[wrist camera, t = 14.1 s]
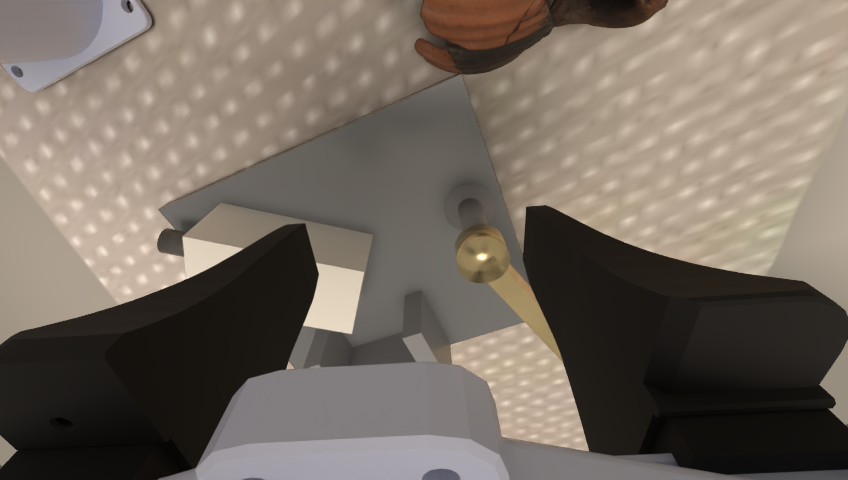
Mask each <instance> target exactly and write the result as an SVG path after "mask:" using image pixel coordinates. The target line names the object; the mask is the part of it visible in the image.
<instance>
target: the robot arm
mask: <svg viewBox="0 0 848 480" xmlns="http://www.w3.org/2000/svg"><path fill="white" fill-rule="evenodd" d="M129 1H130V2H131V3H132V5H133V11H132V12H131V11H130V10H129V9H128V7H127V2H128V0H0V65H2V67H3V68H4V69H5V70H6V71H7V72H8V73H9V74H10V75H11V76H12V78H13V79H14V80H15V81H16V82H17V83H18V84H19V85H20V86H21V87H22V88H23V89H24V90H26V91H28V92H38V91H42V90H43V89H45V88H47V87H49V86H50V85H52V84H54V83H56V82H57V81H59V80H61V79H63V78H64V77H66V76H68V75H70V74H71V73H73V72H75V71H77V70H78V69H80V68H82V67H84V66H85V65H87V64H89V63H91V62H92V61H94V60H96V59H98V58H99V57H101V56H103V55H105V54H106V53H108V52H110V51H112V50H113V49H115V48H117V47H119V46H120V45H122V44H124V43H126V42H127V41H129V40H131V39H133V38H134V37H136V36H138V35H140V34H141V33H143V32H145V31H147V30H148V29H149V28H150V27H151V24H152V21H151V17H150V15H149V13H148V12H147V10H146V9H145V7H144V6H143V4H142V3H141V1H140V0H129ZM19 68H20V69H21V70H22V72H23V74H21V72H20V71H19ZM523 263H524V266H525V270H526V274H527V277H528V280H529V284H530V286H531V289H532V291H533V293H534V295H535V298H536V300H537V302H538V304H539V306H540V308H541V311H542V313H543V315H544V317H545V319H546V321H547V324H548V326H549V328H550V330H551V332H552V334H553V337H554V339H555V341H556V344H557V346H558V349H559V351H560V354H561V357H562V360H563V364H564V367H565V370H566V373H567V376H568V379H569V382H570V385H571V389H572V392H573V395H574V399H575V402H576V405H577V409H578V412H579V416H580V419H581V423H582V426H583V430H584V434H585V437H586V441H587V444H588V448H589V452H588V451H582V450H576V449H570V448H565V447H559V446H553V445H547V444H541V443H535V442H529V441H523V440H517V439H511V438H505V437H502V436H501V430H500V425H499V420H498V415H497V409H496V404H495V401H494V398H493V396H492V393H491V391H490V389H489V386H488V384H487V382H486V381H485V380H483V379H481V378H480V377H478V376H477V375H475V374H473V373H472V372H470V371H468V370H467V369H465V368H464V367H462V366H459V365H452V364H444V363H436V362H428V361H426V362H409V363H392V364H375V365H357V366H340V367H323V368H306V369H288V370H286V367H287V364H288V362H289V359H290V356H291V353H292V351H293V348H294V346H295V344H296V341H297V339H298V336H299V334H300V331H301V329H302V326H303V324H304V322H305V319H306V317H307V314H308V312H309V309H310V307H311V304H312V302H313V299H314V295H315V291H316V287H317V282H318V277H319V272H318V268H317V265H316V261H315V257H314V254H313V250H312V246H311V243H310V239H309V235H308V232H307V228H306V224H305V223H299V224H287V225H284V226H282V227H280V228H278V229H276V230H274V231H272V232H271V233H269V234H267V235H266V236H264V237H262V238H261V239H259V240H257V241H256V242H254V243H252V244H251V245H249V246H248V247H246V248H244V249H243V250H241V251H239V252H237V253H236V254H234V255H232V256H230V257H229V258H227V259H225V260H223V261H221V262H220V263H218V264H216V265H214V266H213V267H211V268H209V269H207V270H205V271H203V272H201V273H199V274H197V275H194V276H192V277H190V278H188V279H186V280H184V281H181V282H179V283H177V284H175V285H172V286H170V287H167V288H164V289H162V290H159V291H157V292H154V293H152V294H149V295H146V296H144V297H141V298H139V299H136V300H133V301H130V302H127V303H124V304H121V305H118V306H115V307H112V308H109V309H105V310H102V311H98V312H95V313H92V314H88V315H85V316H81V317H78V318H74V319H70V320H66V321H62V322H58V323H54V324H50V325H46V326H42V327H38V328H34V329H29V330H25V331H21V332H19V333H17V334H15V335H13V336H12V337H10V338H9V339H7V340H6V341H5V342H3V343H2V344H1V345H0V435H1V436H2V437H3V438H4V439H5V440H6V441H7V442H8V443H9V444H11V445H12V446H13V447H14V448H15V449H16V450H18V451H17V452H16V453H15V454H14V455H13V456H12V457H11V458H10V459H9V460H8V461H7V462H6V463H5V464H4V465H3V466H1V465H0V480H848V424H847V425H845V424H843V422H841V421H840V420H839V419H838V418H837V417H836V416H835V415H834V414H833V413H832V412H831V411H830V410H829V409H828V408H833V407H834V406H835V404H836V402H835V399H834V398H833V397H832V396H831V395H830V394H829V393H828V392H827V391H826V390H824V389H823V388H822V387H821V386H820V385H819V384H820V382H821V381H822V380H823V378H824V377H825V375H826V374H827V372H828V371H829V369H830V368H831V366H832V365H833V363H834V362H835V360H836V359H837V358H838V356H839V355H840V353H841V351H842V350H843V348H844V346H845V344H846V342H847V340H848V316H847V314H846V311H845V310H844V309H843V308H841V307H840V306H839V305H838V304H837V303H835V302H834V301H832V300H831V299H830V298H828V297H827V296H825V295H823V294H822V293H821V292H819V291H818V290H816V289H815V288H813V287H812V286H810V285H809V284H807V283H806V282H803V281H797V280H789V279H782V278H774V277H767V276H759V275H751V274H744V273H738V272H733V271H727V270H722V269H717V268H711V267H707V266H702V265H698V264H693V263H689V262H685V261H681V260H678V259H674V258H670V257H666V256H663V255H659V254H656V253H653V252H650V251H647V250H644V249H641V248H638V247H635V246H632V245H630V244H627V243H624V242H622V241H619V240H617V239H615V238H612V237H610V236H608V235H606V234H603V233H601V232H599V231H597V230H595V229H593V228H591V227H589V226H587V225H585V224H583V223H581V222H579V221H577V220H575V219H573V218H571V217H569V216H567V215H565V214H564V213H562V212H560V211H558V210H556V209H554V208H551V207H549V206H546V205H544V206H531V207H526V221H525V236H524V252H523Z"/></svg>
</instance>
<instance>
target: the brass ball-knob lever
mask: <svg viewBox="0 0 848 480" xmlns="http://www.w3.org/2000/svg"><path fill="white" fill-rule="evenodd" d="M455 253H456V260H457V267H458V270H459V272H460V274H461V275H462V276H463V277H464V278H465V279H467V280H469V281H471V282H474V283H488V284H489V285H490V286H491V287H492V288H493V289H494V290H495V291H496V292H497V293H498V294H499V296H500V297H501V298H502V299H503V300H504V301H505V302H506V303H507V304H508V305H509V306H510V307H511V308H512V309H513V310H514V311H515V312H516V313H517V314H518V316H519V317H520V318H521V319H522V320H523V321H524V322H525V323H526V324H527V325H528V326H529V327H530V328H531V329H532V330H533V331H534V332H535V333H536V334H537V335H538V337H539V338H540V339H541V340H542V341H543V342H544V343H545V344H546V345H547V346H548V347H549V348H550V349H551V350H552V351H553V352H554V353H555V354H556V355H557V356H558V358H559V359H560V360H561V361H562V362H563V360H562V357H561V354H560V351H559V349H558V346H557V344H556V341H555V339H554V337H553V334H552V332H551V330H550V328H549V326H548V324H547V321H546V319H545V317H544V315H543V313H542V311H541V308H540V306H539V304H538V302H537V300H536V298H535V295H534V293H533V291H532V289H531V287H530V286H529V285H528V284H527V282H526V281H525V280H524V279H523V278H522V277H521V276H520V275H519V273H518V272H517V271H516V270H515V269H514V268H513V267H512V266H511V264H510V255H509V252H508V249H507V246H506V244H505V241H504V239H503V236H502V234H501V233H500V232H499V231H498V230H497V229H496V228H494V227H492V226H490V225H485V224H478V225H473V226H470V227H468V228H466V229H465V230H463V231H462V232H461V233H460V234H459V236H458V237H457V239H456V242H455Z"/></svg>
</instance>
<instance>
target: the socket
mask: <svg viewBox="0 0 848 480" xmlns="http://www.w3.org/2000/svg"><path fill="white" fill-rule="evenodd" d="M220 203H224V204H229V205H234V206H239V207H244V208H248V209H253V210H258V211H263V212H267V213H272V214H277V215H282V216H287V217H291V218H296V219H301V220H306V221H311V222H315V223H320V224H325V225H330V226H334V227H339V228H344V229H349V230H354V231H358V232H363V233H368V234H373V238H372V243H371V248H370V253H369V258H368V263H367V268H366V273H365V277H364V282H363V287H362V292H361V297H360V301H359V305H358V309H357V314H356V318H355V322H354V327H353V331H352V334H348V333H343V332H337V331H331V330H325V329H320V328H314V327H308V326H302V329H301V331H300V334H299V336H298V339H297V341H296V344H295V346H294V348H293V351H292V353H291V356H290V359H289V362H290V363H291V364H292V366H293V367H294V368H295V369H306V368H323V367H340V366H357V365H375V364H392V363H409V362H426V361H428V362H436V363H444V364H452V360H451V348H450V344H454V343H457V342H460V341H464V340H467V339H470V338H474V337H477V336H480V335H484V334H487V333H490V332H494V331H497V330H500V329H504V328H507V327H510V326H514V325H517V324H520V323H524V321H523V320H522V319H521V318H520V317H519V316H518V314H517V313H516V312H515V311H514V310H513V309H512V308H511V307H510V306H509V305H508V304H507V303H506V302H505V301H504V300H503V299H502V298H501V297H500V296H499V294H498V293H497V292H496V291H495V290H494V289H493V288H492V287H491V286H490V285H489V284H488V283H474V282H471V281H469V280H467V279H465V278H464V277H463V276H462V275H461V274H460V272H459V270H458V267H457V260H456V253H455V242H456V239H457V237H458V236H459V234H460V233H461V232H462V231H463V230H465V229H466V228H468V227H470V226H473V225H478V224H485V225H490V226H492V227H494V228H496V229H497V230H498V231H499V232H500V233H501V234H502V236H503V239H504V241H505V244H506V246H507V249H508V252H509V255H510V264H511V266H512V267H513V268H514V269H515V270H516V271H517V272H518V273H519V275H520V276H521V277H522V278H523V279H524V280H525V281H526V282H527V284H528V285H529V286H530V284H529V280H528V277H527V274H526V270H525V266H524V263H523V255H522V253H521V250H520V247H519V244H518V241H517V238H516V235H515V232H514V229H513V226H512V223H511V220H510V217H509V214H508V211H507V208H506V205H505V202H504V199H503V196H502V193H501V190H500V187H499V184H498V181H497V178H496V176H495V173H494V170H493V167H492V164H491V161H490V158H489V155H488V152H487V149H486V146H485V143H484V140H483V137H482V134H481V131H480V128H479V125H478V122H477V119H476V116H475V113H474V110H473V107H472V104H471V101H470V98H469V96H468V93H467V90H466V87H465V84H464V81H463V78H462V75H461V73H458V74H456V75H454V76H452V77H449V78H447V79H445V80H443V81H441V82H438V83H436V84H434V85H432V86H429V87H427V88H425V89H423V90H421V91H418V92H416V93H414V94H412V95H409V96H407V97H405V98H403V99H400V100H398V101H396V102H394V103H392V104H389V105H387V106H385V107H383V108H380V109H378V110H376V111H374V112H371V113H369V114H367V115H365V116H363V117H360V118H358V119H356V120H354V121H351V122H349V123H347V124H345V125H343V126H340V127H338V128H336V129H334V130H331V131H329V132H327V133H325V134H322V135H320V136H318V137H316V138H314V139H311V140H309V141H307V142H305V143H302V144H300V145H298V146H296V147H294V148H291V149H289V150H287V151H285V152H282V153H280V154H278V155H276V156H273V157H271V158H269V159H267V160H265V161H262V162H260V163H258V164H256V165H253V166H251V167H249V168H247V169H245V170H242V171H240V172H238V173H236V174H233V175H231V176H229V177H227V178H224V179H222V180H220V181H218V182H216V183H213V184H211V185H209V186H207V187H204V188H202V189H200V190H198V191H195V192H193V193H191V194H189V195H187V196H184V197H182V198H180V199H178V200H175V201H173V202H171V203H169V204H167V205H164V206H163V207H161V208H160V209H159V211H160V212H161V213H162V215H163V216H164V217H165V218H166V219H167V220H168V222H169V223H170V224H171V225H172V226H173V227H174V229H175V230H178V231H184V232H188V231H189V230H190V229H192V228H193V227H194V226H195V225H196V224H197V223H198V222H200V221H201V220H202V219H203V218H204V217H205V216H206V215H208V214H209V213H210V212H211V211H212V210H213V209H215V208H216V207H217V206H218V205H219V204H220ZM530 287H531V286H530Z"/></svg>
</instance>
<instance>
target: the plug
mask: <svg viewBox="0 0 848 480" xmlns="http://www.w3.org/2000/svg"><path fill="white" fill-rule="evenodd" d="M299 223H305V224H306V228H307V232H308V235H309V239H310V243H311V246H312V250H313V254H314V257H315V261H316V265H317V268H318V272H319V277H318V282H317V287H316V291H315V295H314V299H313V302H312V304H311V307H310V309H309V312H308V314H307V317H306V319H305V322H304V324H303V326H308V327H314V328H320V329H325V330H331V331H337V332H343V333H348V334H352V331H353V327H354V322H355V318H356V314H357V309H358V305H359V301H360V297H361V292H362V287H363V282H364V277H365V273H366V268H367V263H368V258H369V253H370V248H371V243H372V238H373V234H368V233H363V232H358V231H354V230H349V229H344V228H339V227H334V226H330V225H325V224H320V223H315V222H311V221H306V220H301V219H296V218H291V217H287V216H282V215H277V214H272V213H267V212H263V211H258V210H253V209H248V208H244V207H239V206H234V205H229V204H224V203H220V204H219V205H218V206H217V207H216V208H215V209H213V210H212V211H211V212H210V213H209V214H208V215H206V216H205V217H204V218H203V219H202V220H201V221H200V222H198V223H197V224H196V225H195V226H194V227H193V228H192V229H190V230H189V231H188V232H184V231H178V230H173V229H168V228H167V229H165V230H163V231H162V232H161V234H160V236H159V238H158V242H157V247H158V250H159V251H160V252H162V253H167V254H172V255H177V256H183V257H184V258H185V269H186V279H188V278H190V277H192V276H194V275H197V274H199V273H201V272H203V271H205V270H207V269H209V268H211V267H213V266H214V265H216V264H218V263H220V262H221V261H223V260H225V259H227V258H229V257H230V256H232V255H234V254H236V253H237V252H239V251H241V250H243V249H244V248H246V247H248V246H249V245H251V244H252V243H254V242H256V241H257V240H259V239H261V238H262V237H264V236H266V235H267V234H269V233H271V232H272V231H274V230H276V229H278V228H280V227H282V226H284V225H287V224H299Z"/></svg>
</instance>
